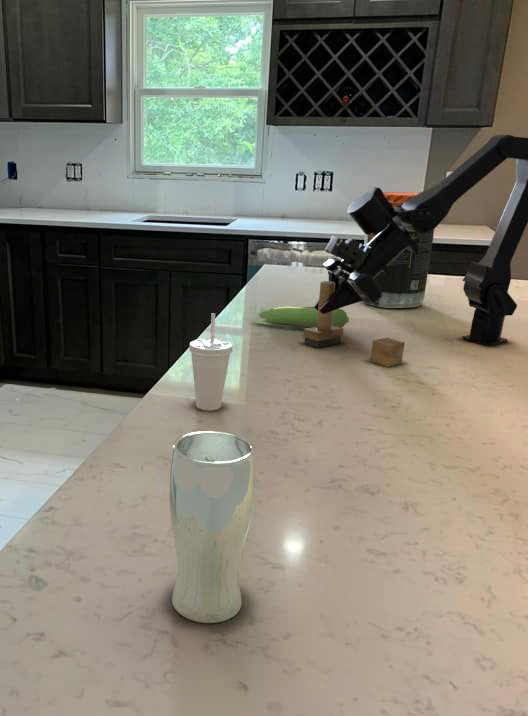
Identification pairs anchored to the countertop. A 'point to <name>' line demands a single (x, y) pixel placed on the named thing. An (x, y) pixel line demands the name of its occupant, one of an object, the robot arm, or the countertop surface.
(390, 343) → the cork block
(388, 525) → the countertop surface
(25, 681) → the countertop surface
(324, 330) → the brush
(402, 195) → the supplement tub
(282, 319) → the edible corn
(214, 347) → the smoothie
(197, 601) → the beer glass
